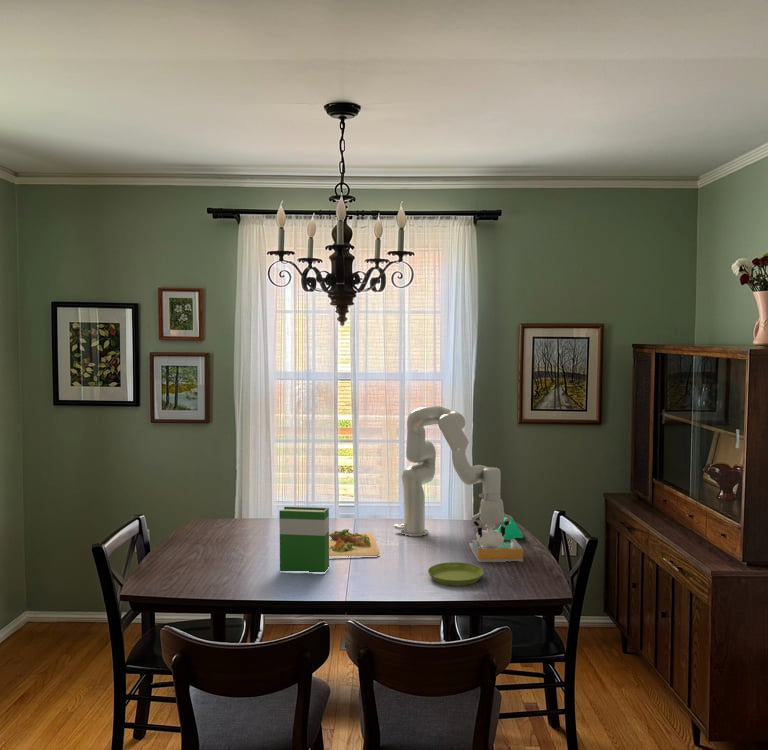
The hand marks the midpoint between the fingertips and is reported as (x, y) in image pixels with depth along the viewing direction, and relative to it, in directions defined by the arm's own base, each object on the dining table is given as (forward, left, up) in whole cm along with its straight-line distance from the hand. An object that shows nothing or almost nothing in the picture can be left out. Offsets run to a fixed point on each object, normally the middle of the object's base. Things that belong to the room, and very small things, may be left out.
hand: (491, 536), depth 297 cm
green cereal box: (-78, -26, -5) cm, 82 cm away
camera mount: (+11, +16, -6) cm, 20 cm away
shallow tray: (0, -7, -5) cm, 9 cm away
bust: (-1, 0, -4) cm, 4 cm away
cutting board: (-61, +6, -6) cm, 61 cm away
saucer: (-21, -38, -6) cm, 44 cm away
